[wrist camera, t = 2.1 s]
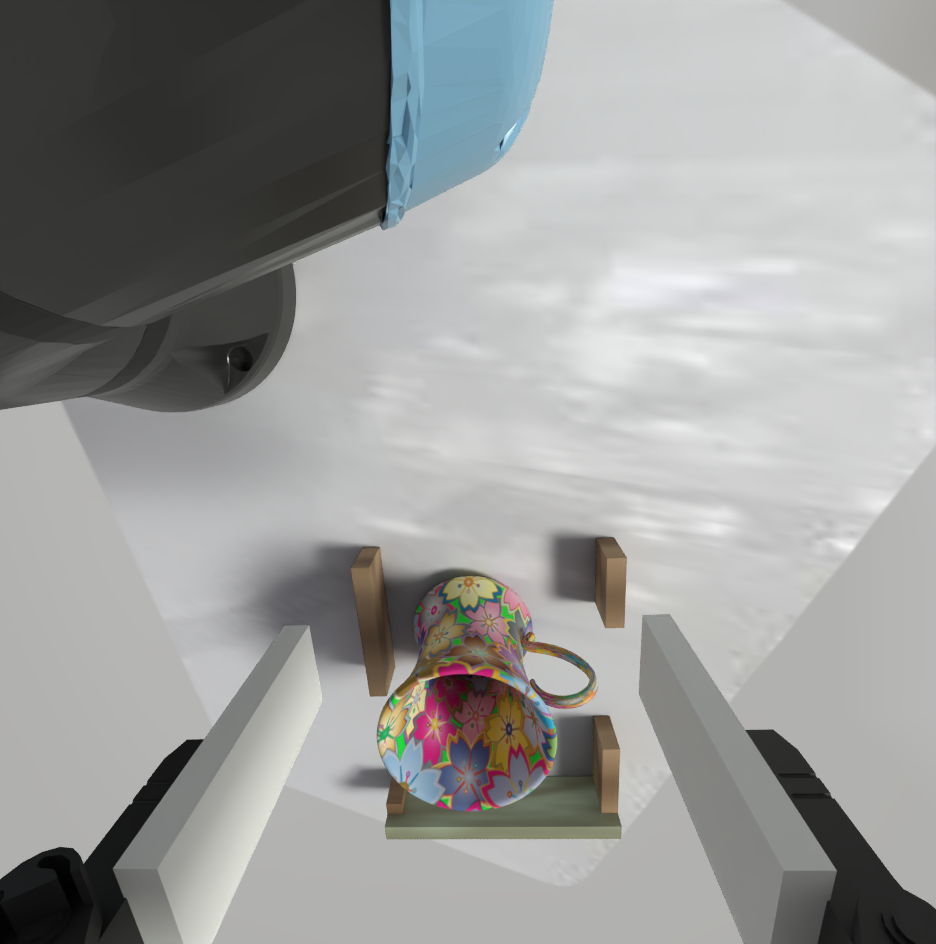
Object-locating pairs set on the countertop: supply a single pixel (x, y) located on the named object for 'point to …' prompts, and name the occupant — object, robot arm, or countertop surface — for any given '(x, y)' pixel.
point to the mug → (473, 701)
